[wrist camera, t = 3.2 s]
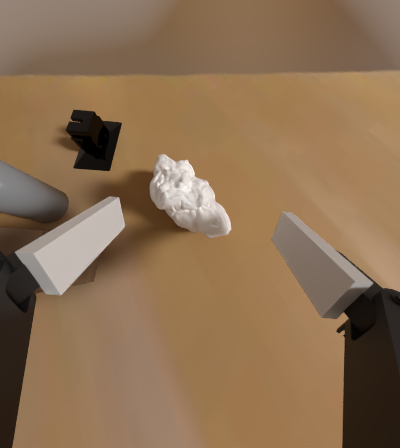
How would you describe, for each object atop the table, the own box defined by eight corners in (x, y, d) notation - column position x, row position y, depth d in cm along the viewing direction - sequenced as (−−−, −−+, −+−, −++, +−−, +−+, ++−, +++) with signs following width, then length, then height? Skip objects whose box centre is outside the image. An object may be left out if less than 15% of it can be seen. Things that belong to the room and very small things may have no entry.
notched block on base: (90, 114, 25) (67, 84, 21) (131, 118, 26) (118, 89, 21) (68, 178, 22) (37, 157, 18) (115, 182, 23) (96, 163, 18)
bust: (168, 188, 24) (96, 186, 14) (195, 149, 21) (125, 110, 11) (216, 243, 22) (171, 284, 12) (255, 209, 19) (235, 229, 9)
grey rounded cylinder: (26, 221, 20) (-105, 192, 11) (38, 188, 21) (-71, 138, 13) (62, 224, 20) (-39, 197, 11) (72, 191, 21) (-12, 143, 13)
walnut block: (54, 278, 18) (-49, 291, 11) (65, 239, 20) (-19, 225, 12) (93, 281, 19) (20, 296, 11) (102, 242, 20) (43, 230, 12)
